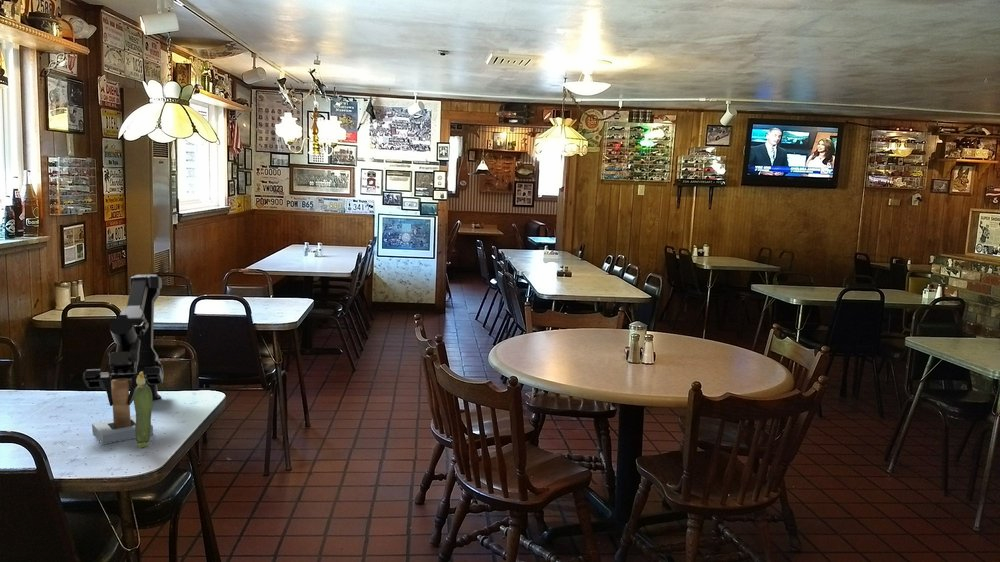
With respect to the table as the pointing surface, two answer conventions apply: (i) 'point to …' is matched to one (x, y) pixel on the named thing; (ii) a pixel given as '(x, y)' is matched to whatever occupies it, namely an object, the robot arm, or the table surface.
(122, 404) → the peg
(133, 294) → the robot arm
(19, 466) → the table surface
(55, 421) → the table surface
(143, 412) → the vegetable
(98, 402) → the table surface
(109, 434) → the socket
